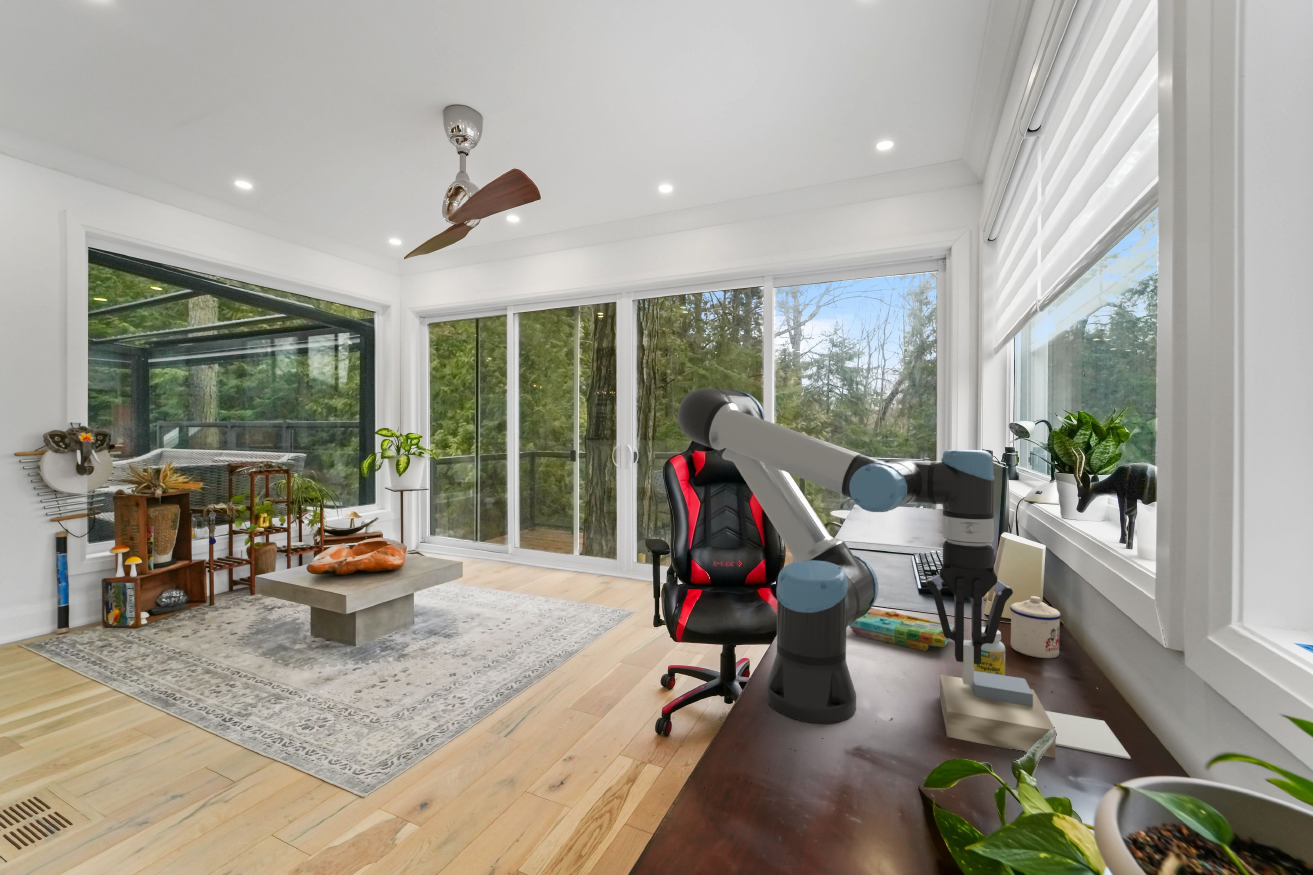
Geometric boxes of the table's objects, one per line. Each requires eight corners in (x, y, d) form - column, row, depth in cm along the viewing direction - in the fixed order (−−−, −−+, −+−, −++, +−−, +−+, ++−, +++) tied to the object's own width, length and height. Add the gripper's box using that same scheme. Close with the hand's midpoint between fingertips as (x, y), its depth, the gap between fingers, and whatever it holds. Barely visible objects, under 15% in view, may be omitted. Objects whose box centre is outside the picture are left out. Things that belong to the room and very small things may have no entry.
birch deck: (946, 736, 86) (947, 710, 86) (939, 696, 99) (940, 674, 99) (1055, 757, 81) (1055, 730, 81) (1032, 712, 94) (1033, 689, 94)
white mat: (1050, 744, 84) (1050, 742, 84) (1033, 710, 94) (1033, 708, 94) (1130, 759, 81) (1130, 757, 81) (1104, 722, 91) (1104, 720, 91)
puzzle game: (865, 603, 138) (955, 621, 126) (864, 622, 138) (955, 642, 126) (849, 616, 129) (945, 636, 116) (849, 636, 129) (944, 658, 116)
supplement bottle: (1004, 678, 107) (1005, 628, 107) (1005, 689, 102) (1006, 637, 102) (972, 672, 109) (972, 623, 109) (971, 682, 105) (972, 632, 105)
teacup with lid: (1056, 663, 114) (1057, 606, 114) (1004, 650, 120) (1005, 597, 120) (1065, 646, 122) (1066, 594, 122) (1017, 636, 129) (1018, 585, 129)
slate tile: (974, 696, 91) (974, 684, 91) (970, 681, 96) (970, 670, 96) (1032, 706, 88) (1032, 694, 88) (1024, 690, 93) (1024, 678, 93)
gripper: (925, 542, 93) (925, 683, 93) (1017, 548, 88) (1017, 698, 88) (923, 535, 100) (923, 666, 100) (1008, 540, 94) (1008, 678, 95)
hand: (967, 681), depth 94 cm, fingers closed
